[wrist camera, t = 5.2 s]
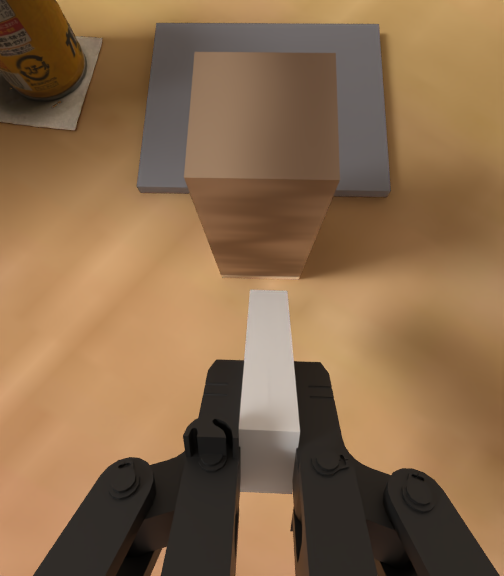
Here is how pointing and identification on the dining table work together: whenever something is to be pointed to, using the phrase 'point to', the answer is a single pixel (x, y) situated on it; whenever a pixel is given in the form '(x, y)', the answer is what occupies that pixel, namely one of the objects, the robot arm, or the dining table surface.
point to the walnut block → (262, 157)
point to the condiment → (42, 65)
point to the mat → (268, 38)
